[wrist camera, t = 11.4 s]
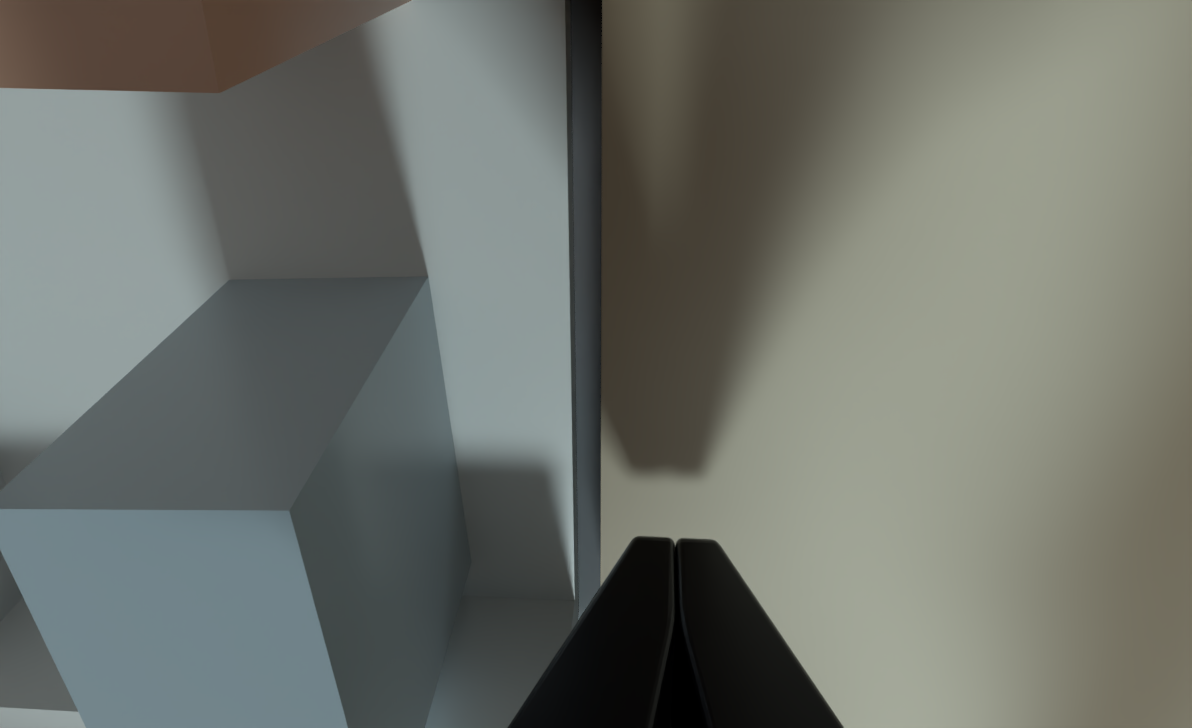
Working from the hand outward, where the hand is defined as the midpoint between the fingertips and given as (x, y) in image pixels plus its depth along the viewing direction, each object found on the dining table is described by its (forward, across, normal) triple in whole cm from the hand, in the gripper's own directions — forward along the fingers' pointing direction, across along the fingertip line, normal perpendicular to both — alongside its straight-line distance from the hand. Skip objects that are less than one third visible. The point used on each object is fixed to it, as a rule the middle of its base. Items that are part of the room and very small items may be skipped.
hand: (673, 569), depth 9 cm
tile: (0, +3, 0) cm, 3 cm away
